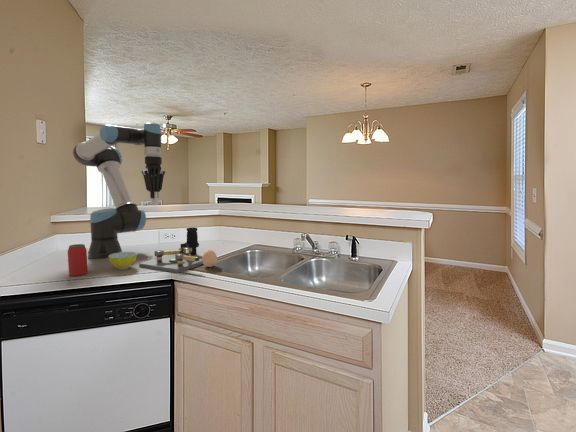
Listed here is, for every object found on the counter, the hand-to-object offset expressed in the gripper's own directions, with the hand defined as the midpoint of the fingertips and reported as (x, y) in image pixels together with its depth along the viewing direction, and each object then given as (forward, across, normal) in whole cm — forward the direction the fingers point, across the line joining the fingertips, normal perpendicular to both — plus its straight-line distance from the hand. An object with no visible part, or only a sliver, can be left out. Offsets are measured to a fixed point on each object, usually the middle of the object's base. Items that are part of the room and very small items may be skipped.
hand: (154, 204), depth 165 cm
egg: (+27, -2, -34) cm, 43 cm away
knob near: (+25, -7, -15) cm, 30 cm away
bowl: (+27, -21, -2) cm, 34 cm away
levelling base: (+26, -6, -17) cm, 32 cm away
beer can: (+27, -36, +7) cm, 45 cm away
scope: (+27, +14, -10) cm, 32 cm away
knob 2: (+25, -11, -29) cm, 40 cm away
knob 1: (+25, -2, -22) cm, 33 cm away
